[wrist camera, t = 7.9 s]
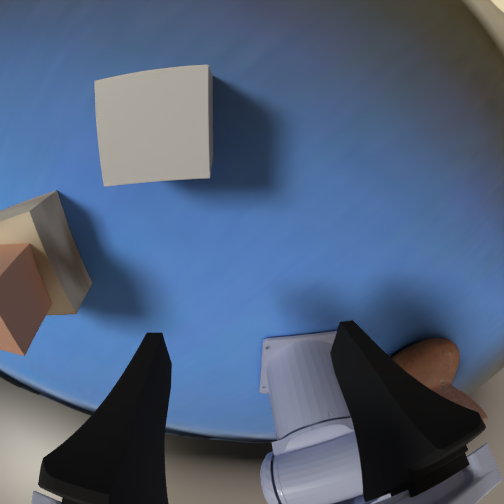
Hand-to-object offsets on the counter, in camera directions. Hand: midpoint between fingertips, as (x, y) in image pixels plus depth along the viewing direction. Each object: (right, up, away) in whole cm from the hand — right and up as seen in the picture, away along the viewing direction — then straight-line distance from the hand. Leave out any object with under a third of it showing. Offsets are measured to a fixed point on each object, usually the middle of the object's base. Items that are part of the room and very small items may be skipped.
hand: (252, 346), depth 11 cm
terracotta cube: (-17, +2, +4) cm, 17 cm away
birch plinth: (-17, +4, +7) cm, 19 cm away
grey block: (-5, +12, +4) cm, 13 cm away
